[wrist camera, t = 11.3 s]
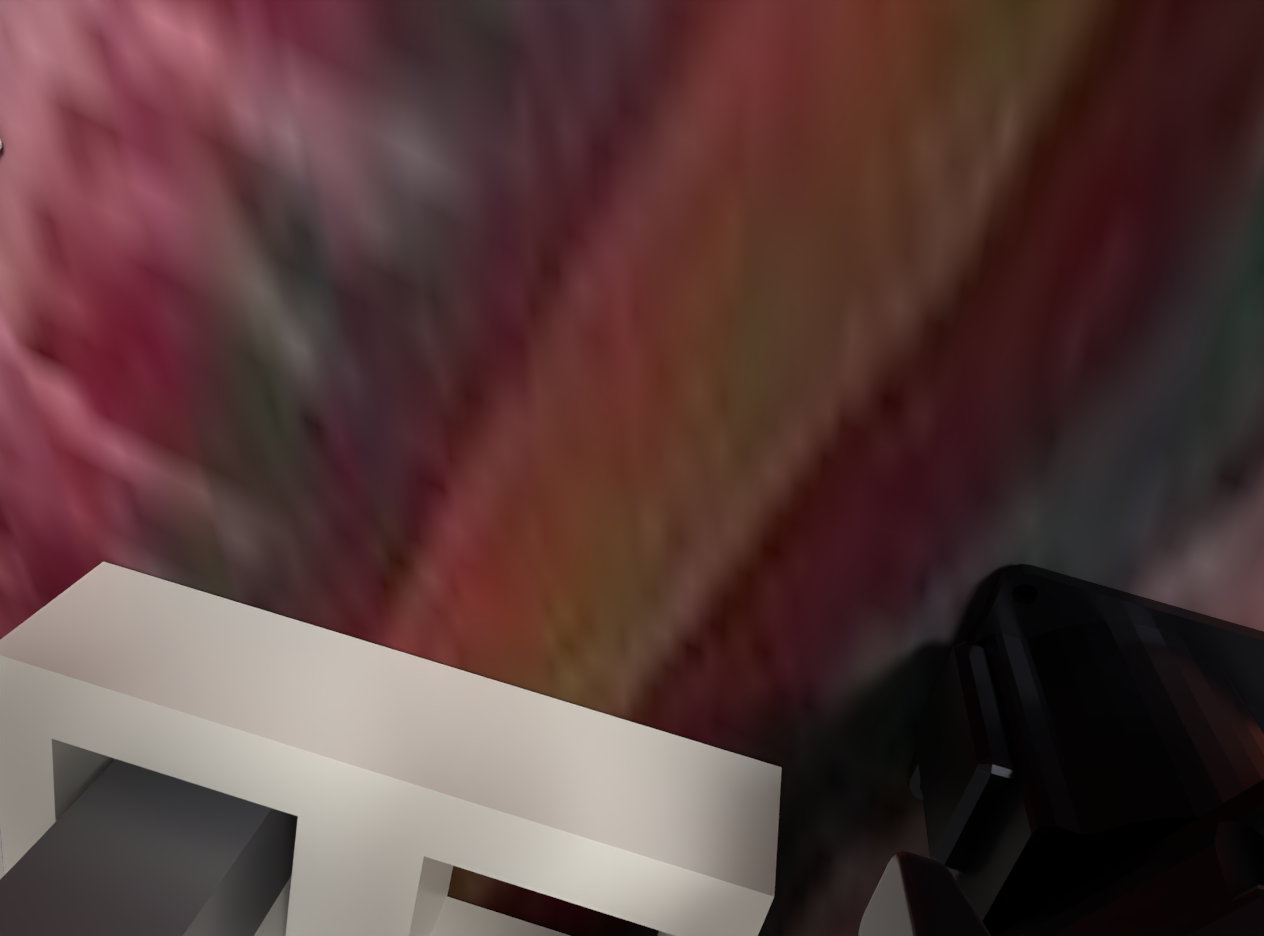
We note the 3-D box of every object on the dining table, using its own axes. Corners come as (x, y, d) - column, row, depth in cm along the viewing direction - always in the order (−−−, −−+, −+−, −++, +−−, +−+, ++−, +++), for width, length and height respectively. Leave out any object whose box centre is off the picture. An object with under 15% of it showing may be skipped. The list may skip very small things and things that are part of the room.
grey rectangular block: (332, 721, 26) (56, 1116, 17) (320, 827, 28) (64, 1240, 19) (192, 678, 27) (-158, 1044, 17) (189, 786, 28) (-129, 1173, 19)
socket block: (781, 767, 24) (773, 908, 21) (665, 1062, 30) (641, 1218, 26) (103, 561, 26) (-25, 658, 22) (108, 881, 31) (5, 1005, 27)
